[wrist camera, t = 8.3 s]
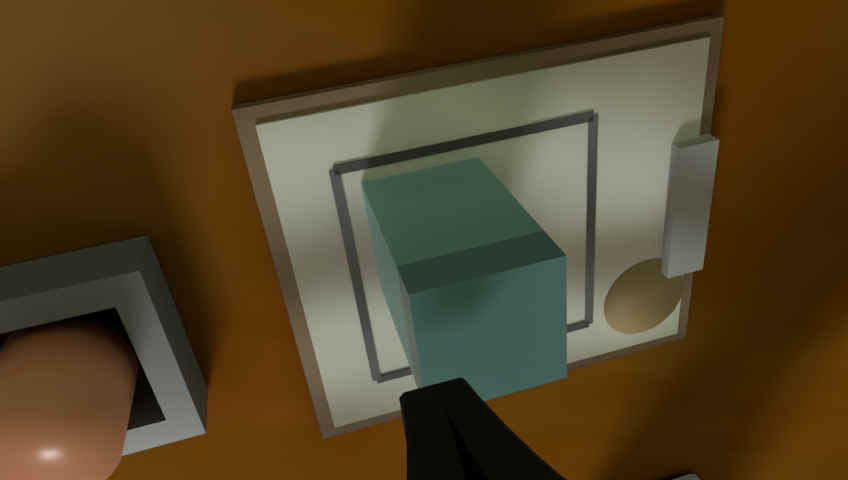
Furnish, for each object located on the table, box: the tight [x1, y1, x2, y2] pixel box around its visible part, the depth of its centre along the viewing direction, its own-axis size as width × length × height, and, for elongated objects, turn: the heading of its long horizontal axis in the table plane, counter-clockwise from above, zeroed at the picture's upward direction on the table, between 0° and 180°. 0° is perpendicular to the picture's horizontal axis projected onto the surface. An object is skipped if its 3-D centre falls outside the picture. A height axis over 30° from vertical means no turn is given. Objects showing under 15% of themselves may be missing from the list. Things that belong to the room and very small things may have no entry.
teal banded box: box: [361, 157, 567, 401], centre depth 17 cm, size 4×4×6 cm
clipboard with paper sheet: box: [231, 14, 724, 439], centre depth 21 cm, size 12×15×1 cm
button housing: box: [0, 235, 208, 456], centre depth 18 cm, size 6×6×2 cm
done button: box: [0, 318, 138, 480], centre depth 17 cm, size 4×4×3 cm
